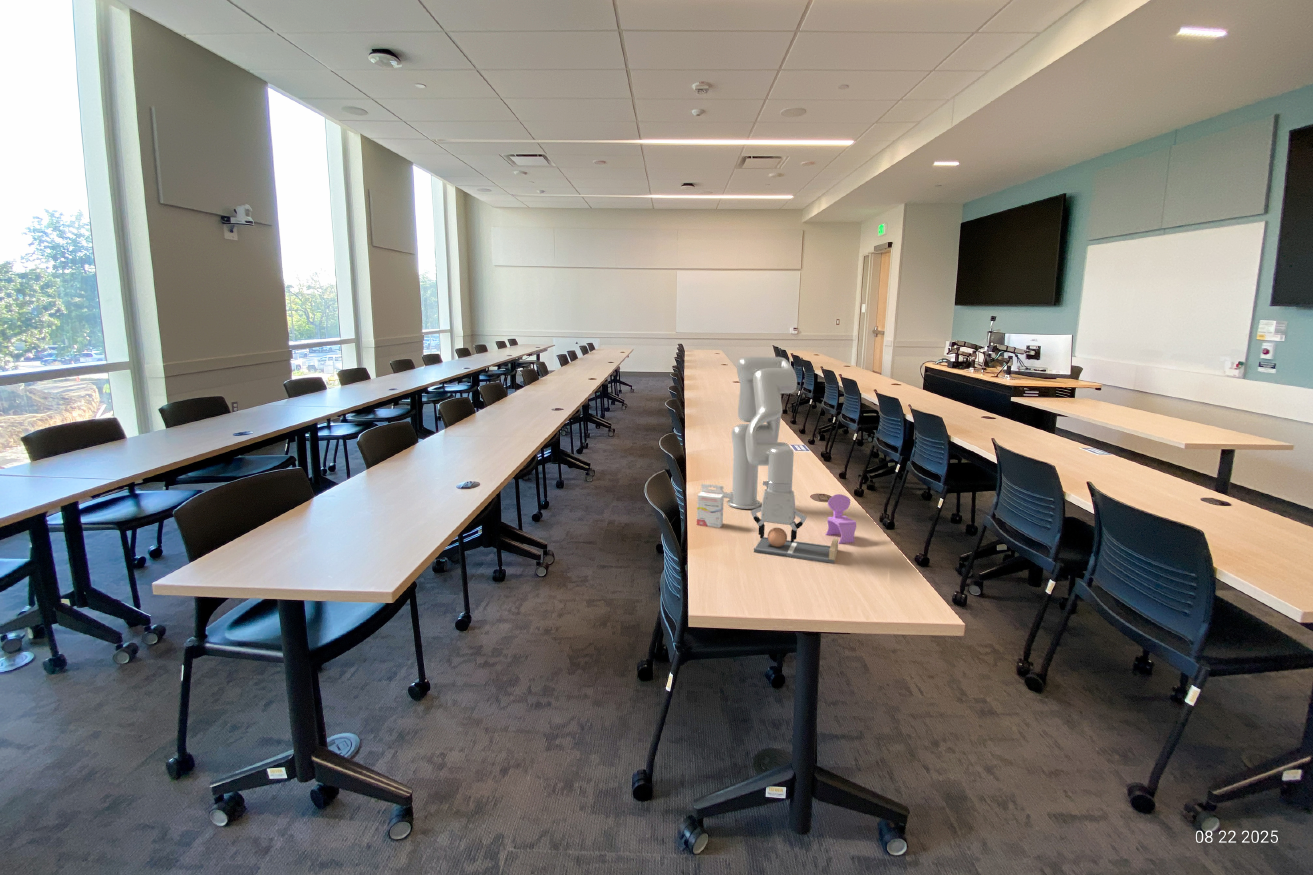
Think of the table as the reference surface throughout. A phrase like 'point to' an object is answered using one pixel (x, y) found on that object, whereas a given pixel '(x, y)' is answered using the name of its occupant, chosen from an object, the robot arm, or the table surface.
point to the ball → (777, 537)
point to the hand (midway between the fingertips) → (777, 539)
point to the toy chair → (840, 519)
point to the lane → (800, 550)
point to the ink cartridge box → (710, 506)
